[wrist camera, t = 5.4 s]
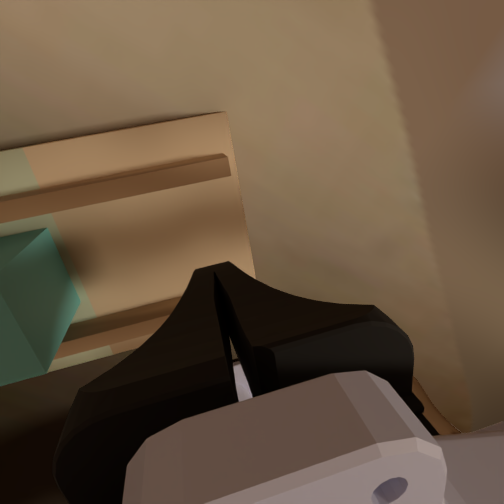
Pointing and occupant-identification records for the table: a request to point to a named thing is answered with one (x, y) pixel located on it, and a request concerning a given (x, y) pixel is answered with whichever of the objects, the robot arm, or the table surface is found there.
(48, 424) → the table surface
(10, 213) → the channel board
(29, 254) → the teal block
